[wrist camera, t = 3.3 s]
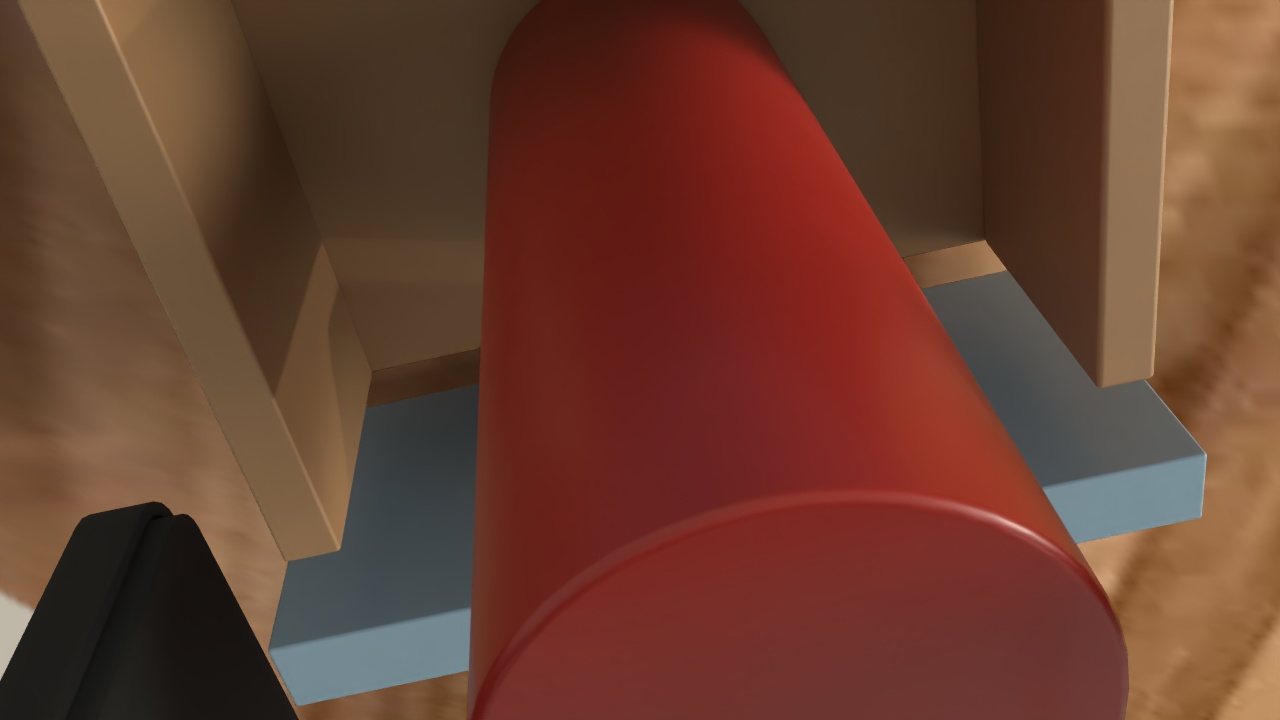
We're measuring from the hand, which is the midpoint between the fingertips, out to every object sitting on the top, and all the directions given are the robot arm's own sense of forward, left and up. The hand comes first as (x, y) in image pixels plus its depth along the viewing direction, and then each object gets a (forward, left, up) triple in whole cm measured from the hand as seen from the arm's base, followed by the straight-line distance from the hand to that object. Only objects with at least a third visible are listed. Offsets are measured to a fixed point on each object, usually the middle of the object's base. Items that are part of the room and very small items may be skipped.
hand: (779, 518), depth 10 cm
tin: (0, 0, -10) cm, 10 cm away
